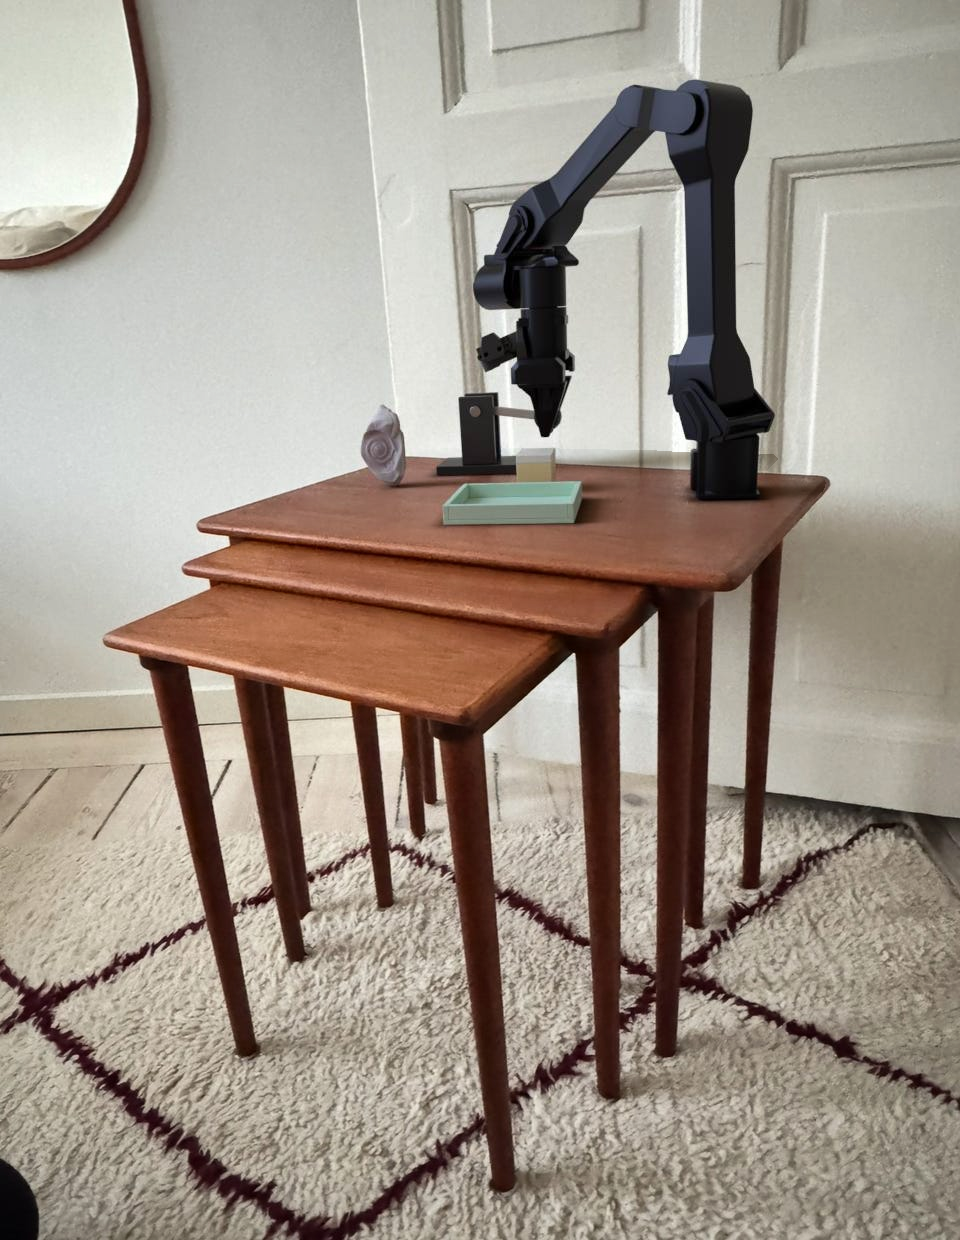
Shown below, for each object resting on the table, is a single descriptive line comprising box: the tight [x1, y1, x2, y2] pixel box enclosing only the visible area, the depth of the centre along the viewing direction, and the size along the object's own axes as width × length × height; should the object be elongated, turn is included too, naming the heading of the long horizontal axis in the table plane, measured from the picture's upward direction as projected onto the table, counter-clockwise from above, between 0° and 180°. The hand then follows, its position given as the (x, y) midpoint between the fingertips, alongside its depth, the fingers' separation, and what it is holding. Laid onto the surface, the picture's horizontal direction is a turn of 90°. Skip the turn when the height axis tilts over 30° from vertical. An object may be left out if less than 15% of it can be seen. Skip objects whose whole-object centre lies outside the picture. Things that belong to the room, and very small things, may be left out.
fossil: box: [360, 404, 407, 487], centre depth 110 cm, size 6×4×10 cm, turn 68°
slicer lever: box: [494, 406, 563, 431], centre depth 115 cm, size 12×4×4 cm, turn 80°
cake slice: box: [515, 447, 557, 483], centre depth 103 cm, size 4×5×4 cm
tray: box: [442, 480, 583, 526], centre depth 94 cm, size 13×11×2 cm
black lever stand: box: [435, 391, 517, 477], centre depth 117 cm, size 11×7×10 cm, turn 80°
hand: (546, 435), depth 116 cm, fingers closed on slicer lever, 3 cm apart
